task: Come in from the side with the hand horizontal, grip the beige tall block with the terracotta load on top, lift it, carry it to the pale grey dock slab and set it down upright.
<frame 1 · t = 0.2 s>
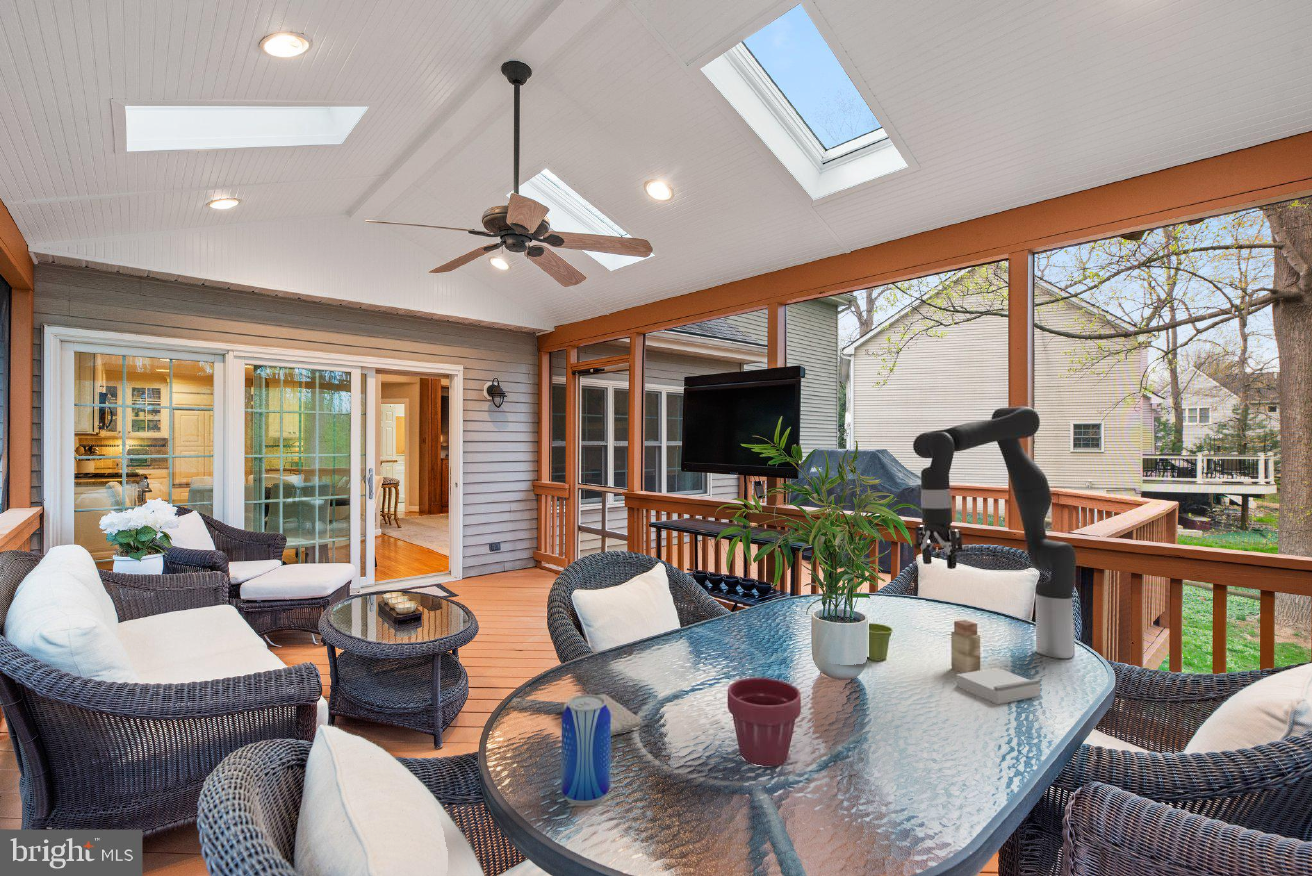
hand: (939, 566, 169), 29 cm above the table, tool pointing down, fingers open, 8 cm apart
beer can: (585, 796, 108), on the table
dock: (997, 691, 156), on the table
beige tall block: (965, 670, 171), on the table
washcloth: (600, 723, 138), on the table
plant pot 2: (875, 658, 181), on the table
plant pot: (763, 757, 122), on the table
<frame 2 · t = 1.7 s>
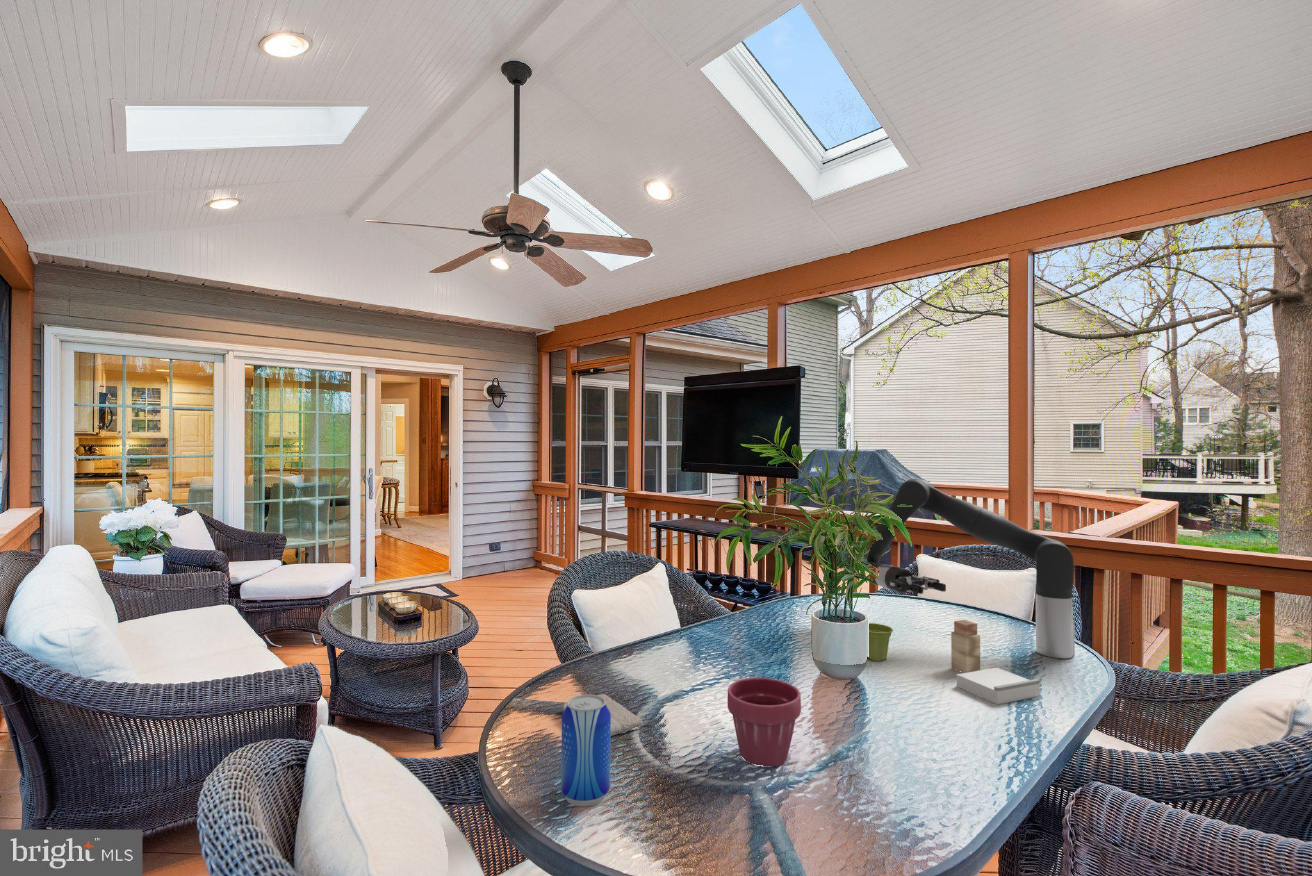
hand: (933, 589, 182), 20 cm above the table, tool horizontal, fingers open, 8 cm apart
nothing on the table moved.
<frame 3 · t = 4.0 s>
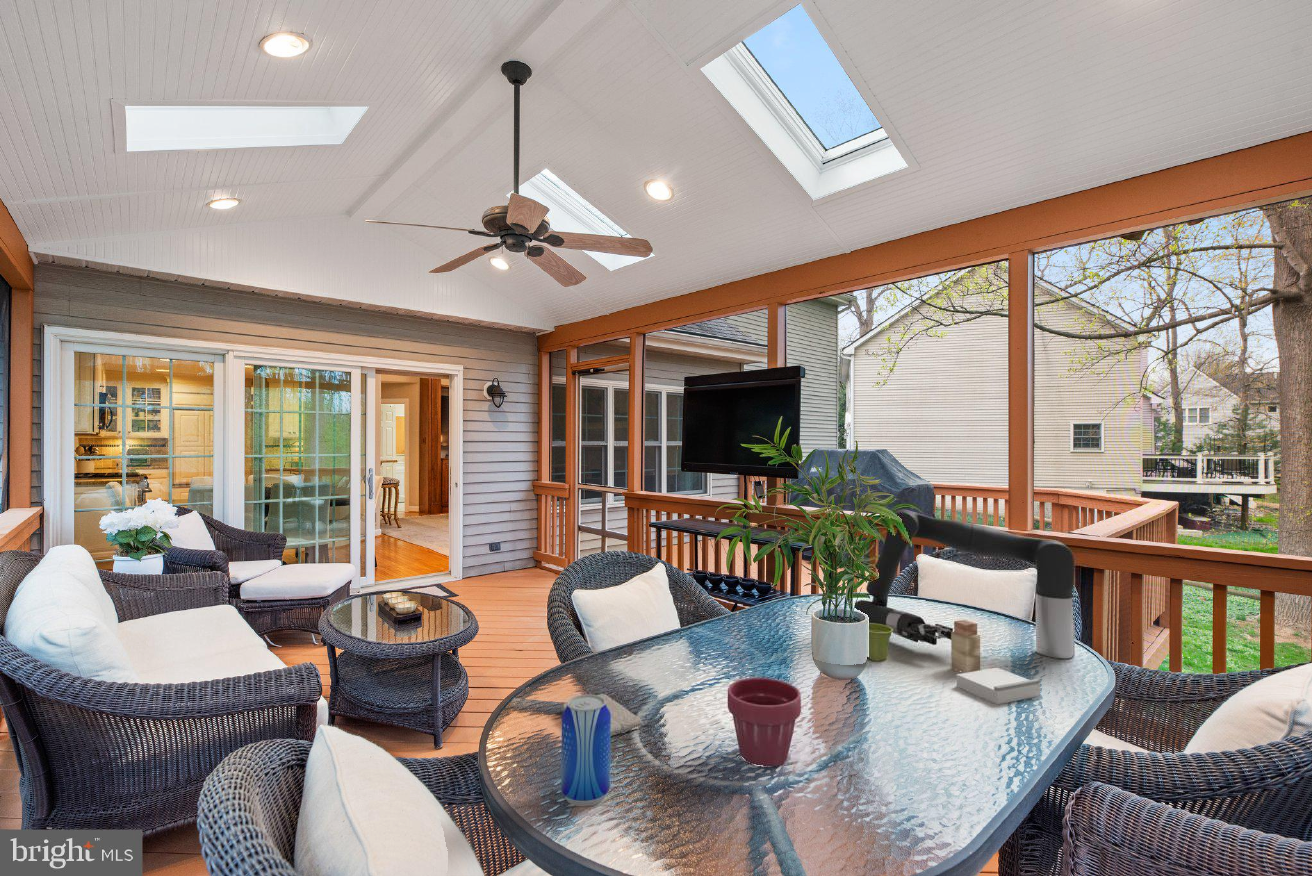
hand: (947, 639, 177), 6 cm above the table, tool horizontal, fingers open, 8 cm apart
nothing on the table moved.
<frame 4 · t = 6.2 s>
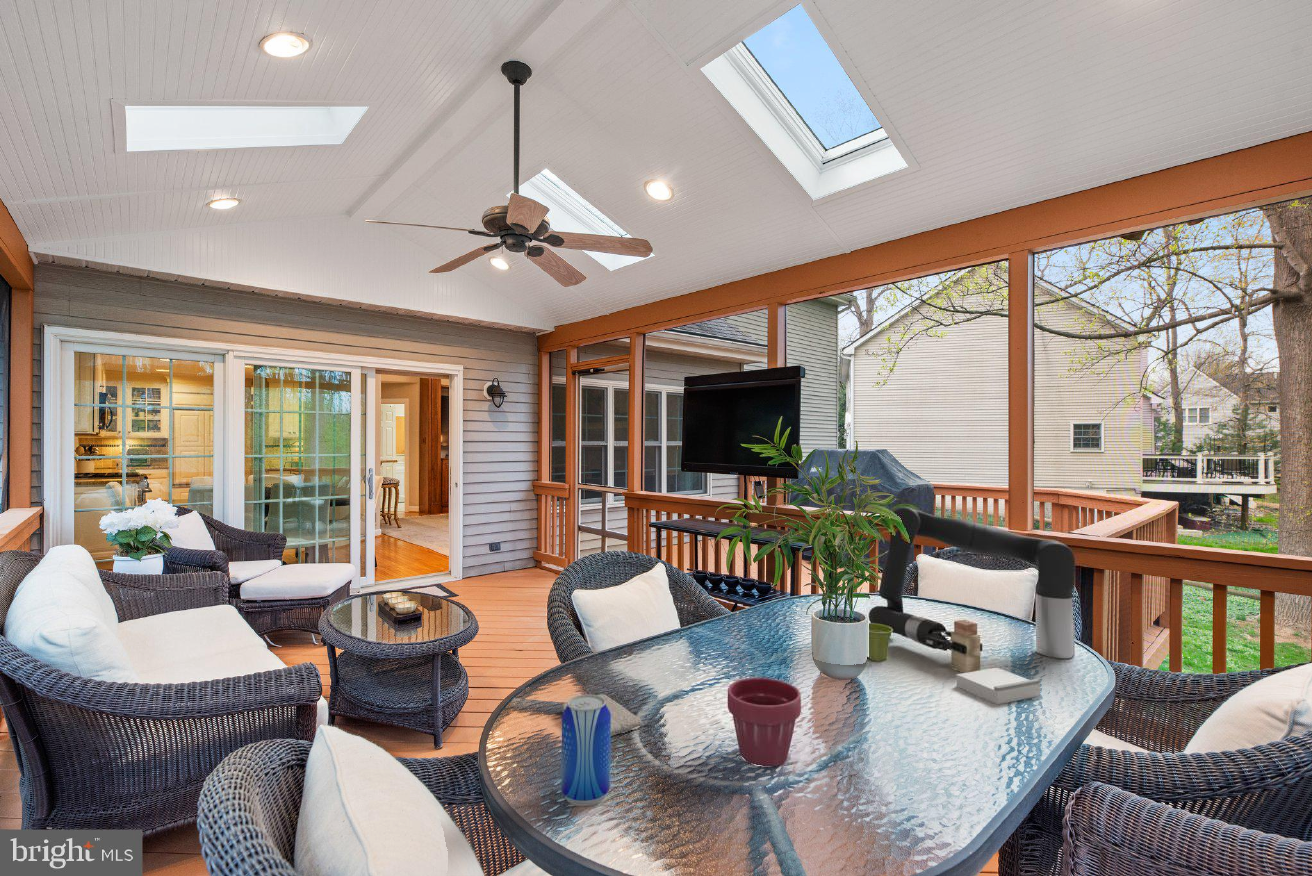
hand: (973, 648, 169), 7 cm above the table, tool horizontal, fingers closed on beige tall block, 5 cm apart
beige tall block: (965, 670, 171), on the table, touching gripper
everything else where it was.
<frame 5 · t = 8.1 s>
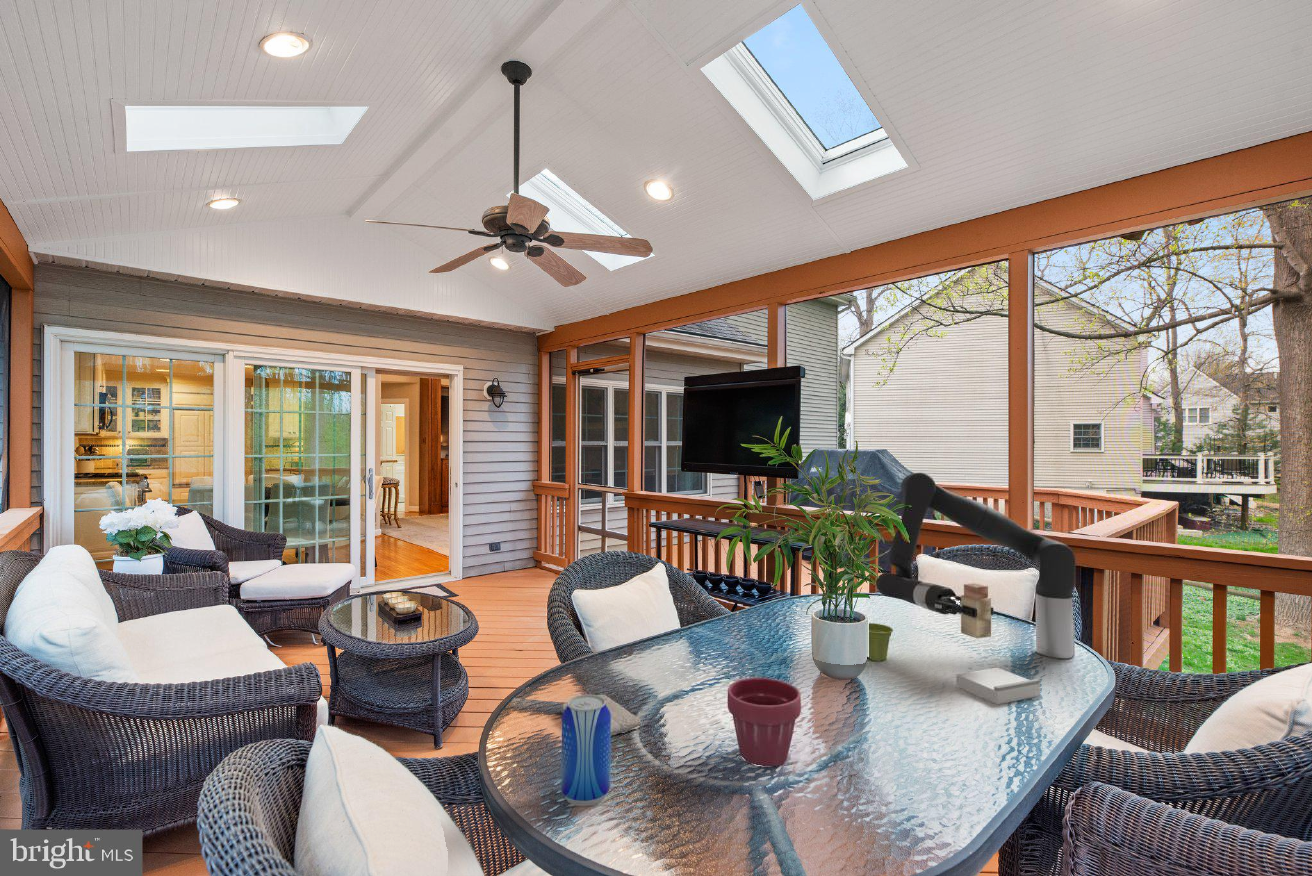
hand: (984, 612, 163), 18 cm above the table, tool horizontal, fingers closed on beige tall block, 5 cm apart
beige tall block: (975, 634, 165), point 11 cm above the table, touching gripper
everything else where it was.
when the fingers open (11 cm above the table, at t = 10.4 s): beige tall block drops 1 cm, resting on dock.
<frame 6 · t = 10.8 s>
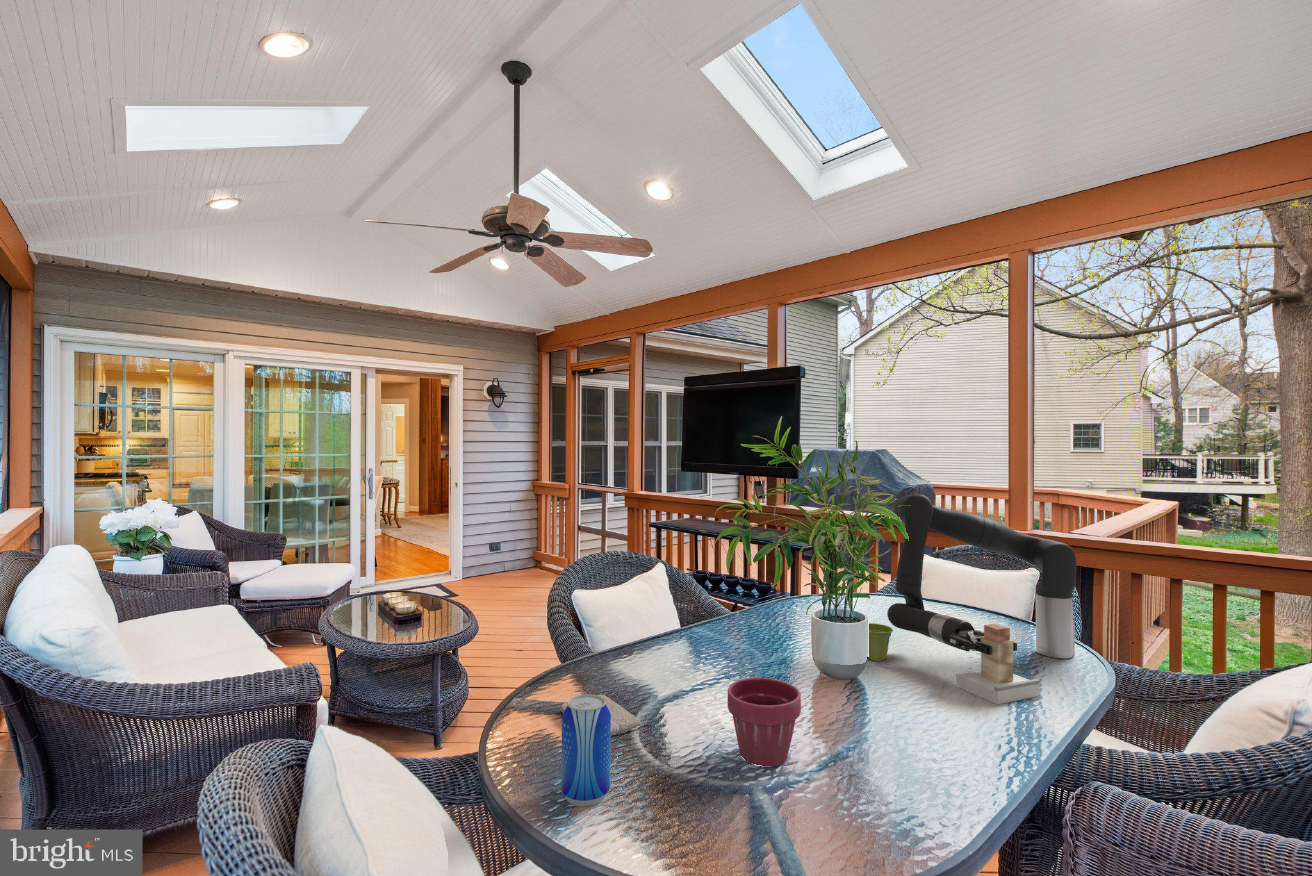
hand: (1003, 648, 154), 11 cm above the table, tool horizontal, fingers open, 8 cm apart
beige tall block: (997, 678, 156), point 3 cm above the table, touching dock
everything else where it was.
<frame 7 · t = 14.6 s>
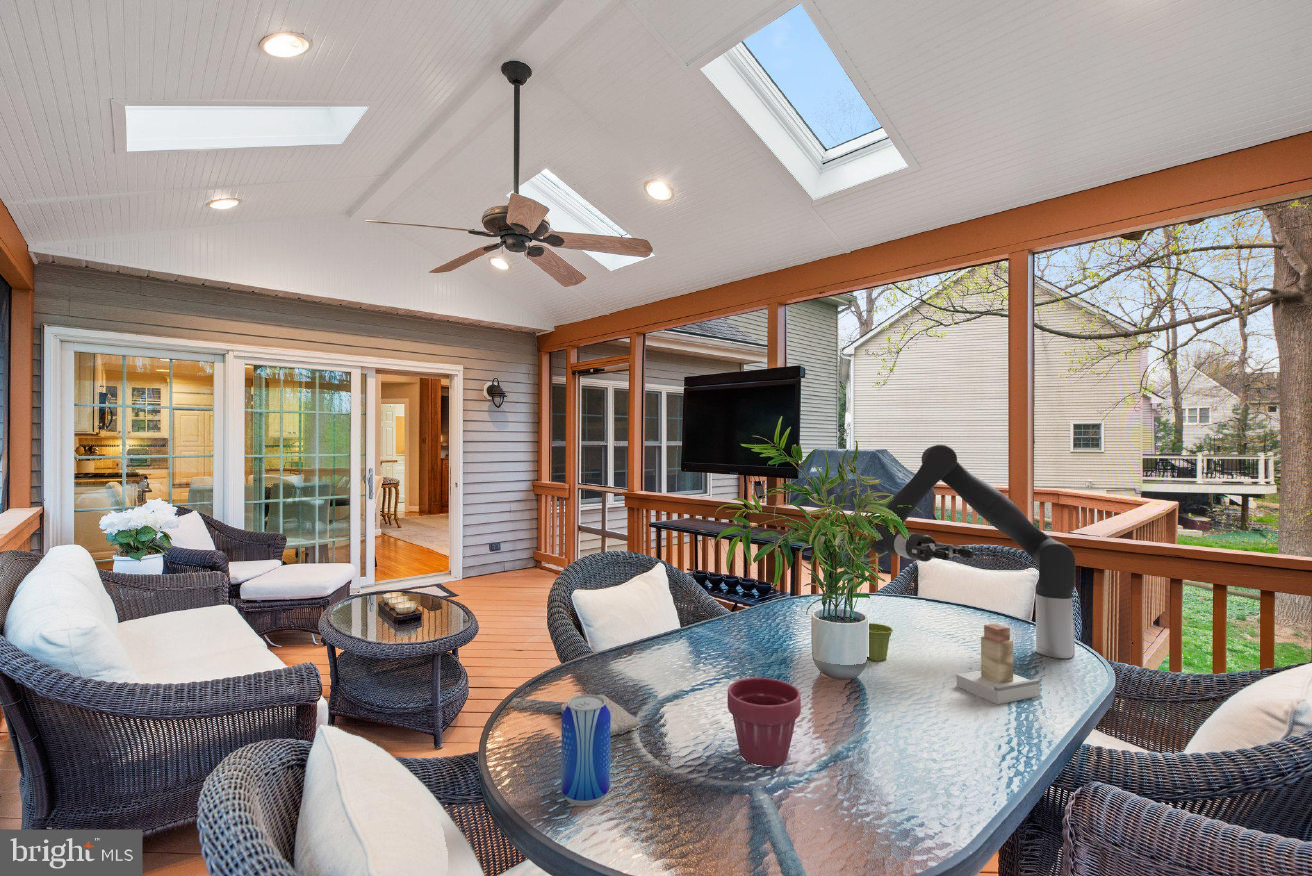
hand: (960, 555, 167), 32 cm above the table, tool horizontal, fingers open, 8 cm apart
nothing on the table moved.
at the end: beige tall block inside the target area on the dock (0.1 cm from its centre), point 3.0 cm above the dock's base; beige tall block tilted 0°; the gripper is holding nothing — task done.
